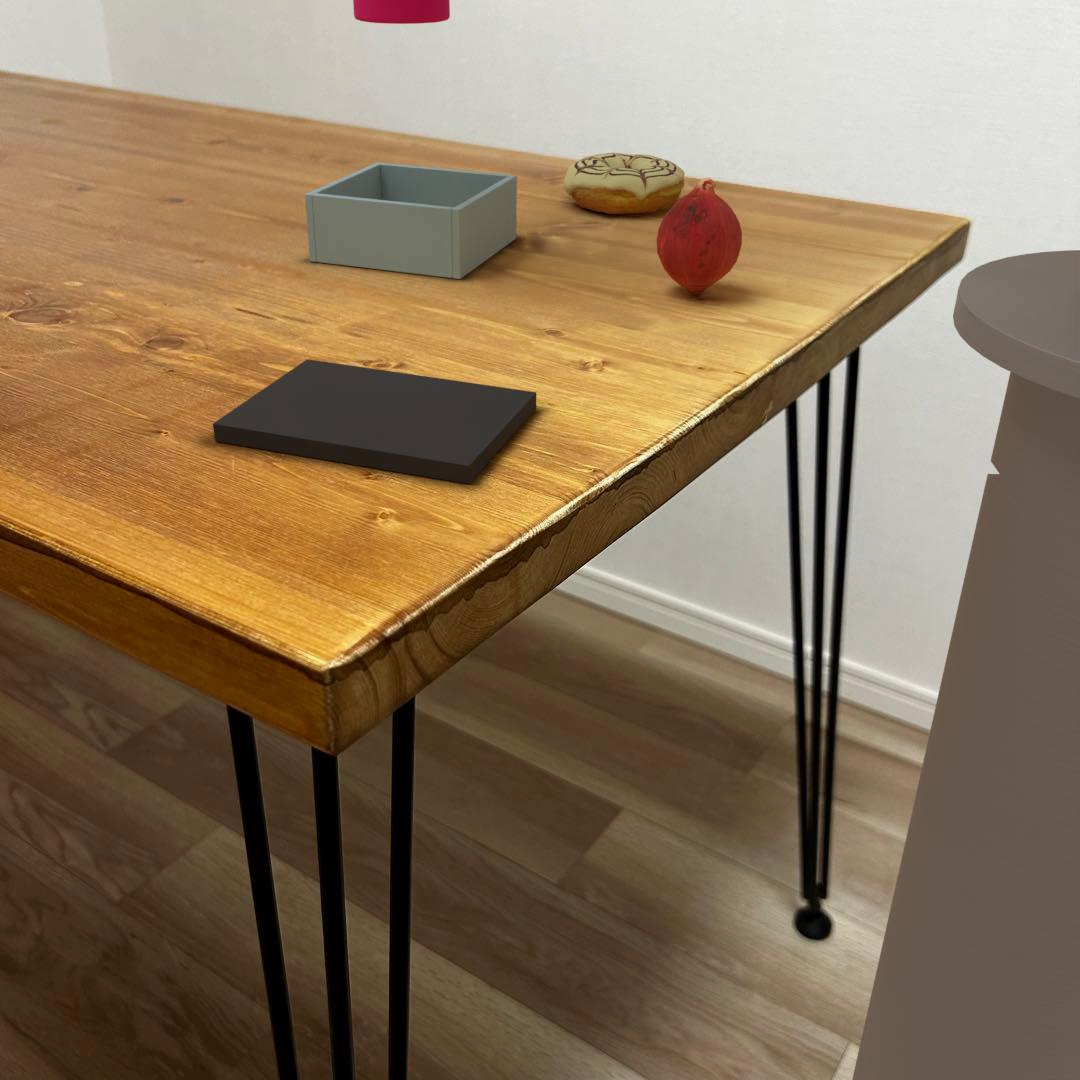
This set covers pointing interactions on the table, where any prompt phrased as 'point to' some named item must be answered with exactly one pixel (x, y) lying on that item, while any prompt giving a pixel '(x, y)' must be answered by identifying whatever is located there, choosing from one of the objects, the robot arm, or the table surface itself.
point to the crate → (412, 219)
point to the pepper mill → (401, 11)
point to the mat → (380, 420)
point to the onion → (699, 239)
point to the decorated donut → (624, 183)
